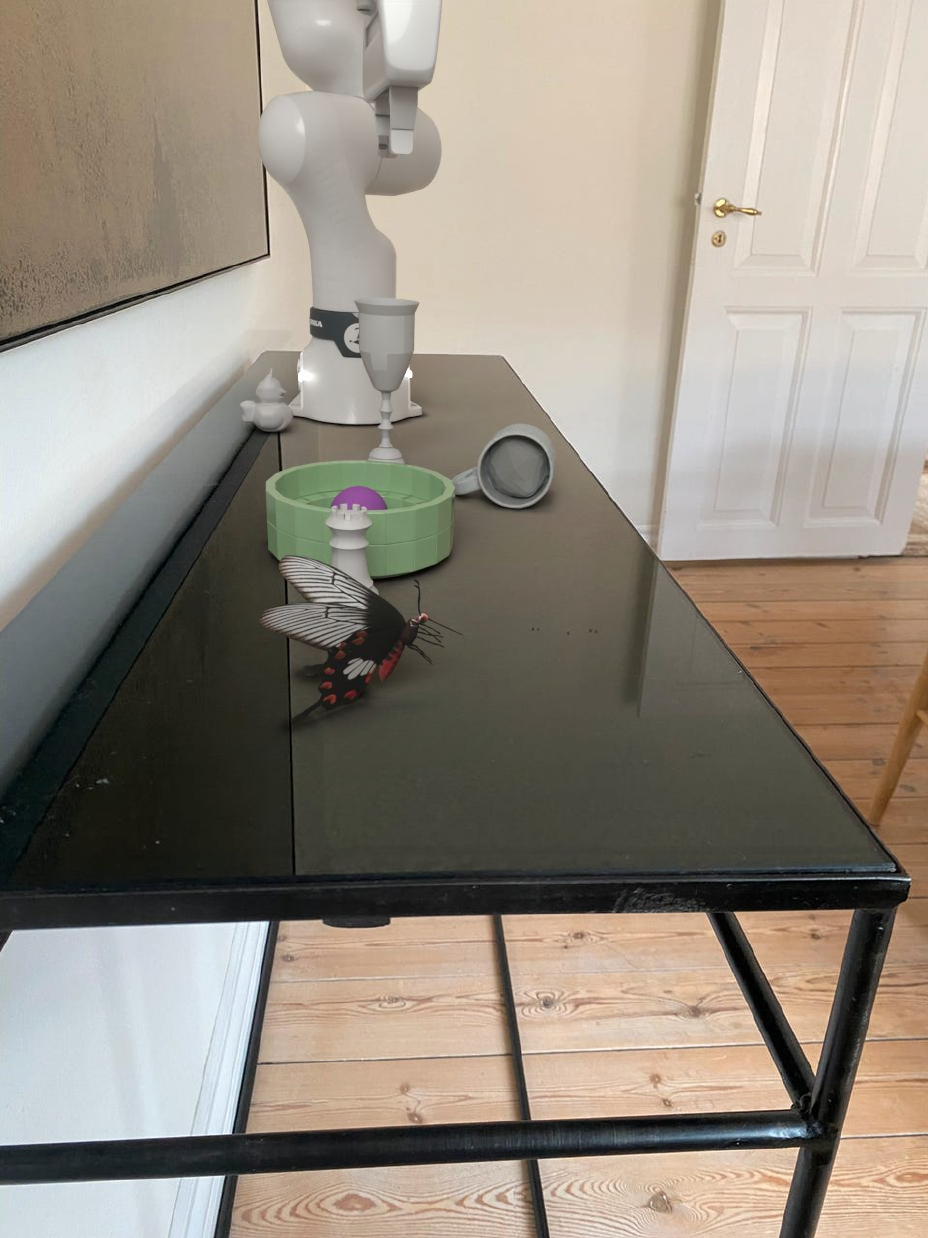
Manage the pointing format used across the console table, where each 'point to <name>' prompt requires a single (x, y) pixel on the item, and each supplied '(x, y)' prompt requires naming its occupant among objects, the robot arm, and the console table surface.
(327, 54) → the robot arm
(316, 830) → the console table surface
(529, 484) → the ceramic mug
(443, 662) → the console table surface
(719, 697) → the console table surface
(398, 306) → the chalice
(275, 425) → the rubber duck
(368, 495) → the ball
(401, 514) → the bowl
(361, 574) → the rook chess piece
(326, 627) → the butterfly
